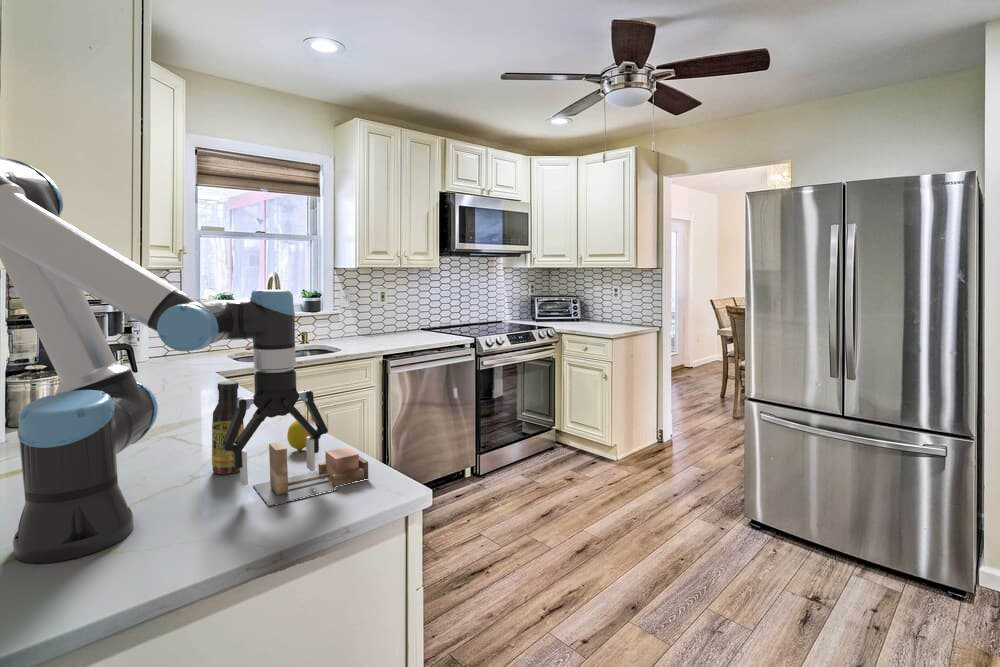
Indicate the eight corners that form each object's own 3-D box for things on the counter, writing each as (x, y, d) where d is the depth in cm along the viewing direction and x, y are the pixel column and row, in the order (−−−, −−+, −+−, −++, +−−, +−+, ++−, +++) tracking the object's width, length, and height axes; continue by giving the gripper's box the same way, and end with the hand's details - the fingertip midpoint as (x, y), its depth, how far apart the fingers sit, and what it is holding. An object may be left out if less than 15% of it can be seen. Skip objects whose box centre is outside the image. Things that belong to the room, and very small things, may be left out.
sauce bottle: (209, 477, 112) (204, 385, 110) (216, 466, 118) (212, 380, 116) (242, 474, 114) (238, 384, 112) (248, 464, 120) (244, 379, 118)
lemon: (304, 445, 133) (303, 415, 132) (316, 450, 130) (315, 419, 129) (283, 451, 129) (282, 419, 128) (295, 456, 126) (294, 423, 125)
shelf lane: (348, 465, 120) (348, 448, 119) (371, 482, 110) (370, 463, 110) (253, 486, 107) (252, 467, 107) (269, 507, 98) (268, 486, 97)
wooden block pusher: (348, 468, 116) (347, 429, 116) (359, 476, 112) (358, 435, 111) (269, 486, 106) (268, 443, 105) (278, 495, 102) (276, 451, 101)
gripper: (329, 360, 112) (331, 458, 115) (201, 372, 97) (206, 483, 100) (342, 365, 107) (344, 468, 109) (208, 378, 92) (214, 497, 94)
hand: (278, 475), depth 104 cm, fingers open, 12 cm apart
